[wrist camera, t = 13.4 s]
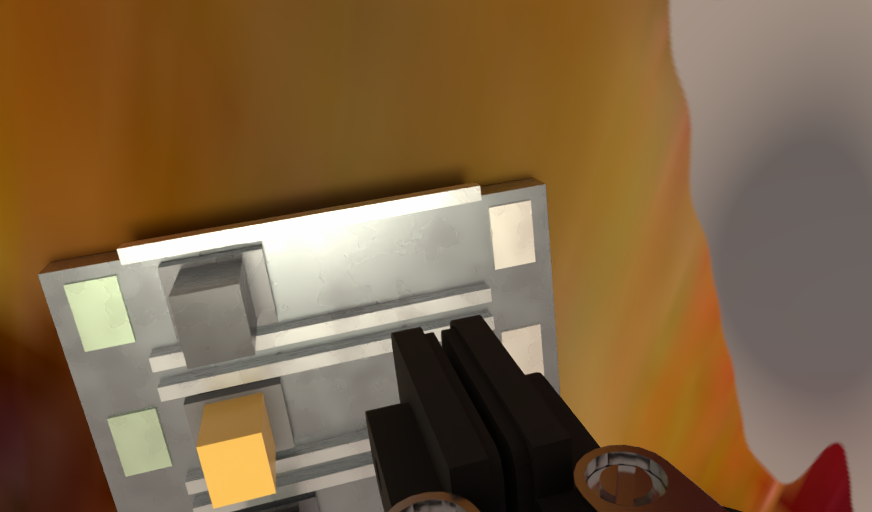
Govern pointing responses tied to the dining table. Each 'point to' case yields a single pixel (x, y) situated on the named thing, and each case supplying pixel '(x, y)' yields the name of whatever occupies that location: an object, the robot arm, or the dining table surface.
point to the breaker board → (293, 331)
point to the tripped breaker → (240, 439)
